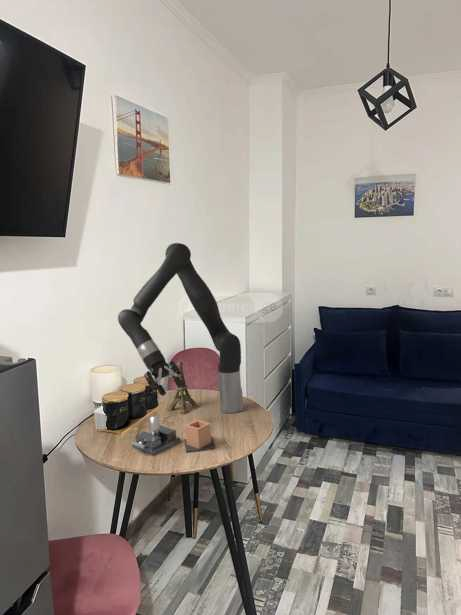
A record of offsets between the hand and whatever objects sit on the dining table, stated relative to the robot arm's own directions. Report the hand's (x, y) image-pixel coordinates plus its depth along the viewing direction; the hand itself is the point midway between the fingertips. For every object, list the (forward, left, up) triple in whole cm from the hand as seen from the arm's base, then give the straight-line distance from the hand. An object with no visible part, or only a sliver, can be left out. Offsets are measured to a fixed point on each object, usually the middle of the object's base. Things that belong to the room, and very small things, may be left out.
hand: (172, 390), depth 170 cm
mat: (-8, +13, -17) cm, 22 cm away
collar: (-8, +13, -16) cm, 22 cm away
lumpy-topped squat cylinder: (+25, -16, -17) cm, 34 cm away
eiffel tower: (-4, -25, -17) cm, 31 cm away
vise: (+7, +9, -17) cm, 20 cm away
